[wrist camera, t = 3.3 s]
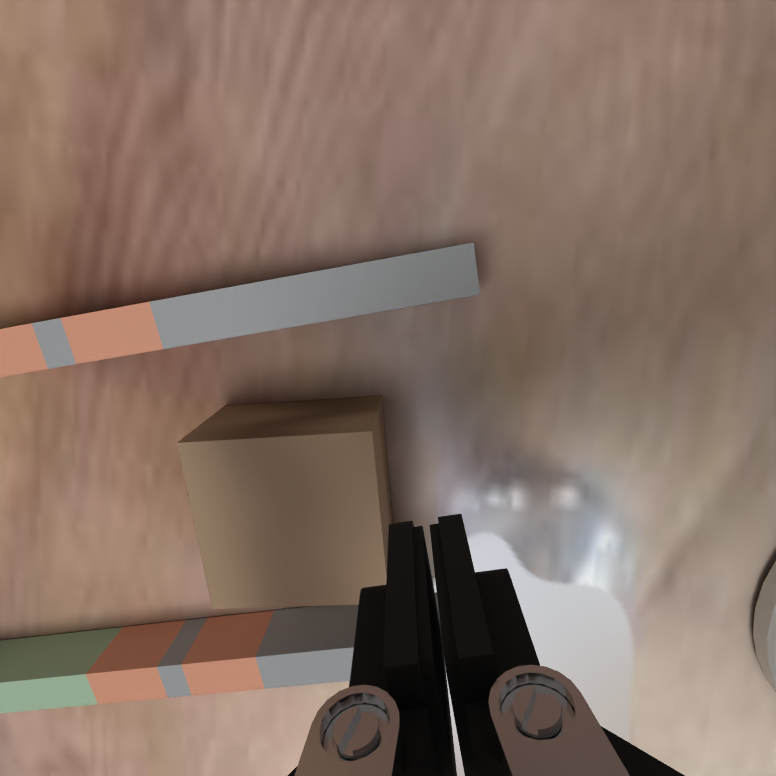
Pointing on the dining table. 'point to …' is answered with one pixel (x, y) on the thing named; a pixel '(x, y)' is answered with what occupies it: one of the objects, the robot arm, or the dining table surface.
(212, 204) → the dining table surface
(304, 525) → the walnut block
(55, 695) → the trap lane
